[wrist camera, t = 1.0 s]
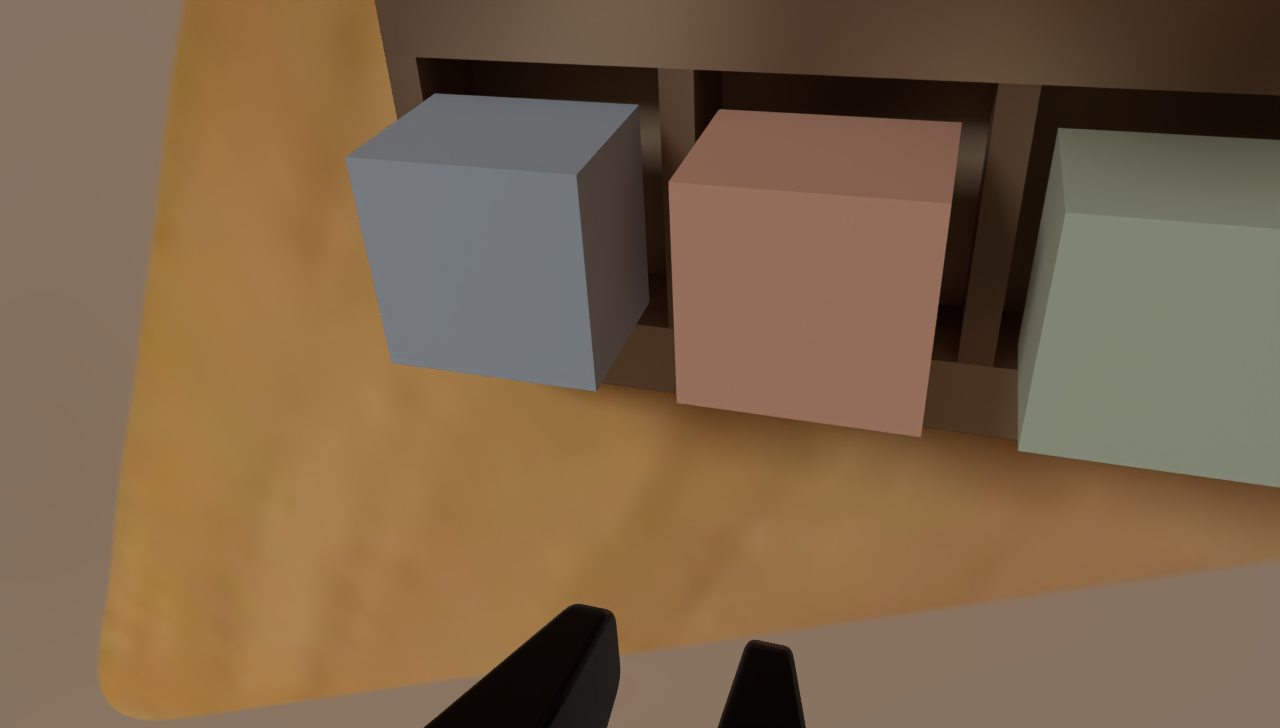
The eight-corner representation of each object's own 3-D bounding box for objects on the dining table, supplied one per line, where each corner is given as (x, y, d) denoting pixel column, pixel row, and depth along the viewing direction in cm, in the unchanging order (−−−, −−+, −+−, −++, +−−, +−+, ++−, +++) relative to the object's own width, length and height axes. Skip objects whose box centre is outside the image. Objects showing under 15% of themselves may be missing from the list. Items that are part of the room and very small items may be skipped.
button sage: (1351, 144, 14) (1421, 240, 11) (1270, 372, 16) (1314, 492, 14) (1058, 128, 15) (1065, 213, 12) (1017, 343, 17) (1018, 450, 15)
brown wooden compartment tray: (1428, -57, 14) (1492, -15, 12) (1265, 394, 19) (1293, 478, 17) (436, -63, 19) (368, -34, 17) (492, 303, 23) (443, 361, 21)
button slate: (639, 105, 17) (576, 174, 14) (649, 302, 19) (596, 391, 16) (434, 93, 18) (344, 157, 15) (466, 281, 20) (391, 362, 17)
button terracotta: (962, 122, 15) (951, 204, 13) (934, 334, 17) (920, 437, 15) (719, 109, 16) (668, 181, 14) (720, 310, 18) (676, 402, 16)
